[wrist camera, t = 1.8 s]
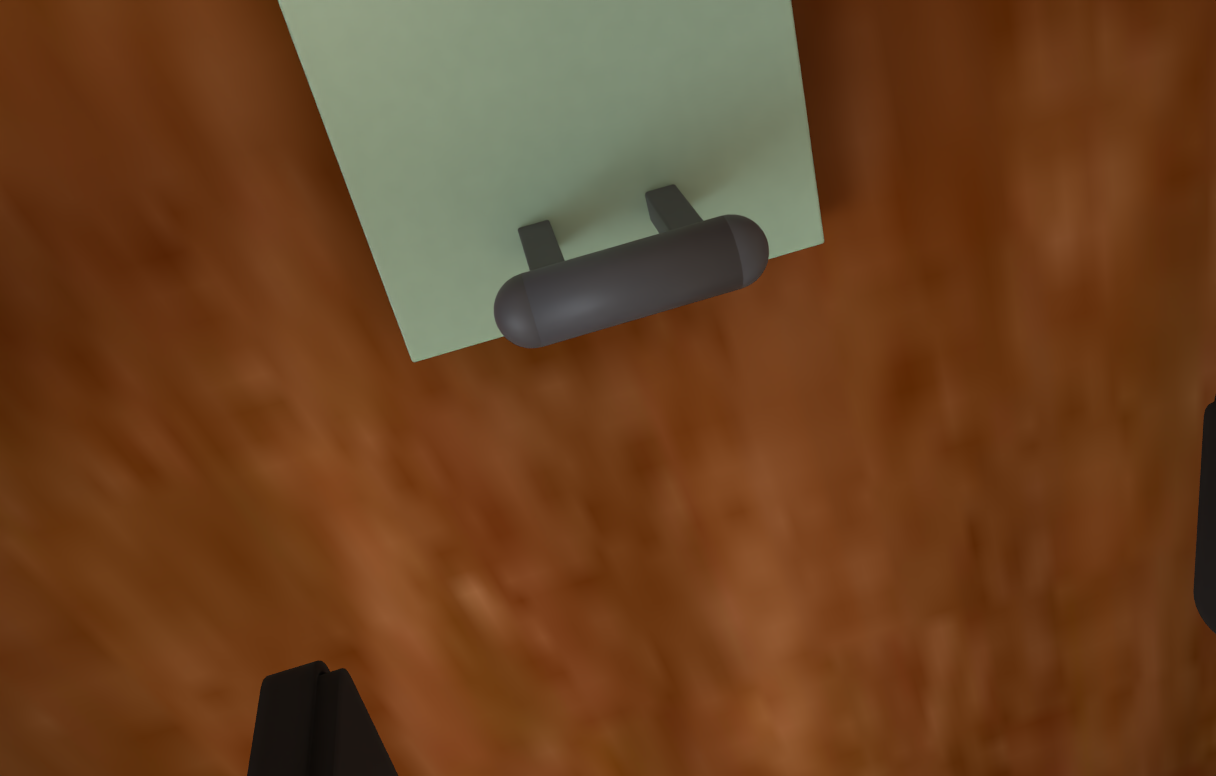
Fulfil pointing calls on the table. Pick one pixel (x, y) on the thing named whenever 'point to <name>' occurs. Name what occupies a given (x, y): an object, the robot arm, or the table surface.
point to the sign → (561, 155)
